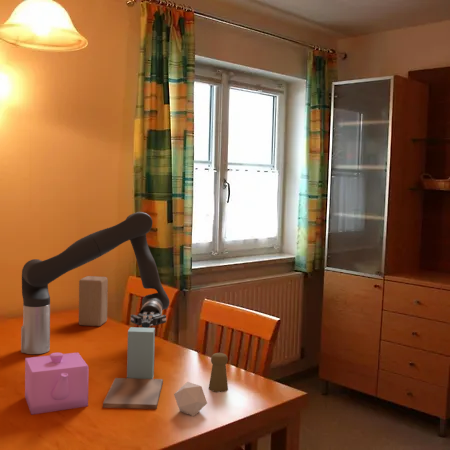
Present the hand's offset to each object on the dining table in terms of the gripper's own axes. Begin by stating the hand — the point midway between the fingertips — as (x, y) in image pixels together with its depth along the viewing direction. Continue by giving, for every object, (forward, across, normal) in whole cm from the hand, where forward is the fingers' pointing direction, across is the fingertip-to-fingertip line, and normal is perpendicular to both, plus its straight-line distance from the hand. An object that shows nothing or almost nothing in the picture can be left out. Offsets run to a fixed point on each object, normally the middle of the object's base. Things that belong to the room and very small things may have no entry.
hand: (145, 325), depth 189 cm
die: (+34, +16, +15) cm, 40 cm away
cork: (+16, +24, +16) cm, 33 cm away
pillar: (+9, 0, +15) cm, 17 cm away
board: (+22, 0, +15) cm, 27 cm away
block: (-56, -29, +15) cm, 65 cm away
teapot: (+30, -22, +15) cm, 40 cm away
